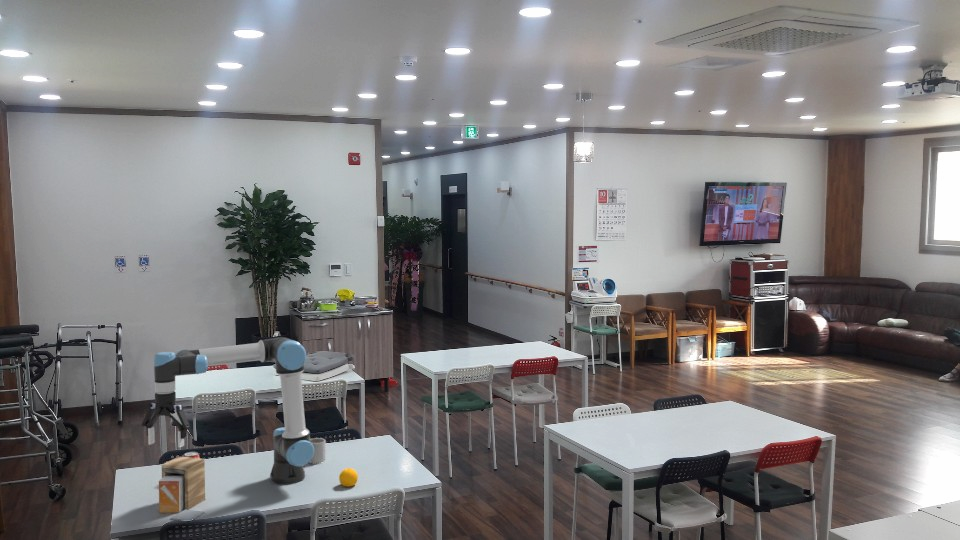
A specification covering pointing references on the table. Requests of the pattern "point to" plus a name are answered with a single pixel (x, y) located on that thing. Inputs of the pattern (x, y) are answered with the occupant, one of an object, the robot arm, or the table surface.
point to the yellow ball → (348, 477)
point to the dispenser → (188, 477)
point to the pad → (187, 515)
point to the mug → (318, 450)
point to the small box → (171, 494)
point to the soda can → (192, 455)
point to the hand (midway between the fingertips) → (166, 445)
